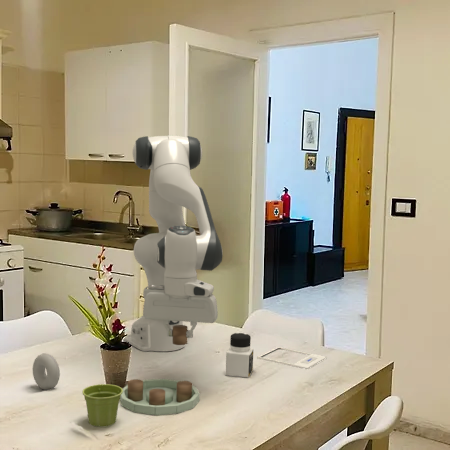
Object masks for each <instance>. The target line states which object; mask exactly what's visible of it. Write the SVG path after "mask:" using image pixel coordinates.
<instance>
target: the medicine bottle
mask: <svg viewBox="0 0 450 450" xmlns="http://www.w3.org/2000/svg"><path fill="white" fill-rule="evenodd" d="M251 339H252V338H251V335H250V334H248V333H246V332H234V333H232V334H231V335H230V343H229V344H230V345H229V348H228V350H227V351H226V354H225V357H226V358H225V376H231V377H240V378H249V377H250V376H251V374H252V372H253V369H254V347H251Z"/></svg>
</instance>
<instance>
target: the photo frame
mask: <svg viewBox="0 0 450 450" xmlns="http://www.w3.org/2000/svg"><path fill="white" fill-rule="evenodd" d="M278 349H281V350H282V351H287V352H292V353H296V354H297V353H298V354H301V353H302V354H301V355H306V354H307V356H306V357H303V358H302V359H300V360H298V361H296V362H294V363H290V362H285V361H281V360H276V359H273V358H272V359H271V358H269V357H268V358H267V357H264V356H266V355H268V354H269V353H271V352H274V351H276V350H278ZM256 358H257V360H258V359H259V360H263V361H266V362H271V363H276V364H281V365H286V366H289V367H290V366H291V367H293V368H294V367H295V368H298V367H299V368H298V369H303V368H305V369H304V370H307V369H308V370H309V369H311V368H312V366H313V367H314V366H316V365H318V364H319V363H318V362H320V361H321V362H323V361H325V360H326V359H327V358H328V357H327V356H324V355H319V354H315V353H308V352H305V351H301V350H295V349H291V348H287V347H286V348H285V347H281V346H277V347H275V348H273V349H270V350H269V351H266V352H264V353H262V354H260V355H259V356H257V357H256ZM325 358H326V359H325ZM324 359H325V360H324ZM322 360H323V361H322ZM321 362H320V363H321ZM317 363H318V364H317ZM315 364H316V365H315ZM310 367H311V368H310Z"/></svg>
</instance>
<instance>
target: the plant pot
mask: <svg viewBox="0 0 450 450" xmlns="http://www.w3.org/2000/svg"><path fill="white" fill-rule="evenodd" d="M122 393H123V387H120V386H119V385H115V384H108V383H103V384H102V383H100V384H92V385H89V386H87V387H85V388H83V390H82V393H81V394H82V395H83V396H84V397H83V398H84V401H85V403H86V411H87V419H88V424H89V425H91V426H93V427H101V428H102V427H105V428H106V427H109V426H113V425H114V424H115V423H116V422H117V415H118V409H119V403H120V397H121V394H122Z"/></svg>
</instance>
